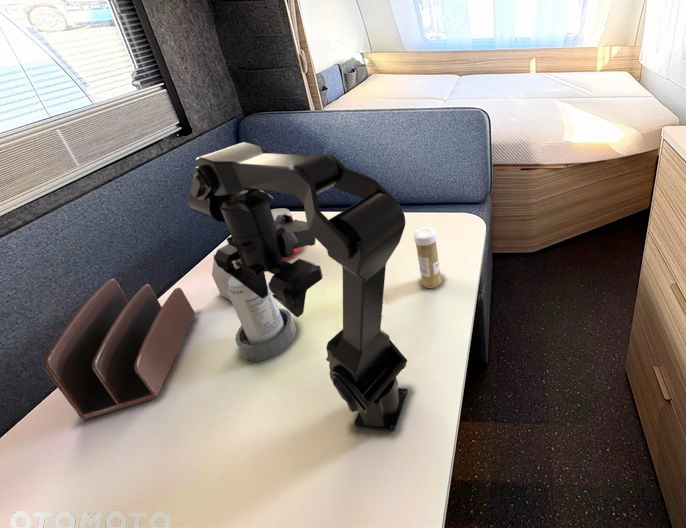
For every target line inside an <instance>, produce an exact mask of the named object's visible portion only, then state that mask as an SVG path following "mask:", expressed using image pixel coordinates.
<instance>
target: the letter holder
mask: <svg viewBox="0 0 686 528" xmlns="http://www.w3.org/2000/svg"><path fill="white" fill-rule="evenodd" d="M195 315H196V312H195V310H194V309H193V307H192V305H191V303H190V301H189V300H188V298H187V296H186V294H185V292H184V290H183V289H182V288H181V287H176V288H174V289H173V291H172V292H171V294H169V296H168V297H167V299H166V300H165V302H164V303H163V304H162V305H161V302H159V299H158V297H157V296H156V294H155V292H154V290H153V288H152V286H151V284H148V283H146V284H144V285H142V286H141V287H140V288H139V289H138V290H137V291H136V293H135V294H134V295H133V296H132V297H131V298H130V300H129V301H128V300H127V298H126V296H125V294H124V292H123V290H122V288H121V286H120V285H119V283H118V281H117V279H115V278H110V279H108V280H106V281H105V282H104V283H103V284H102V285H101V286H99V287H98V288H97V290H95V291H94V292H93V293H92V294H91V295H90V296H89V298H88V299H86V301H85V302H84V303H83V304H82V305H81V307H80V308H79V309H78V310H77V312H76V313H75V314H74V315H73V317H72V318H71V320H70V321H69V322H68V323H67V325H66V326H65V327H64V329H63V330H62V332H61V333H60V334H59V336H58V337H57V339H56V340H55V341H54V343H53V345H52V346H51V348H50V349H49V351H48V352H47V354H46V356H45V358H44V359H43V369H44V371H45V372H46V374H47V375H48V376H49V378H50V379H51V380H52V382H53V383H54V384H55V386H56V387H57V388H58V390H59V391H60V392H61V393H62V395H63V396H64V398H65V399H66V400H67V402H68V403H69V404H70V406H71V407H72V409H74V412H76V413H77V415H78V417H79V418H80V419H81V420H83V421H87V420H89V419H91V418H95V417H98V416H101V415H104V414H108V413H111V412H115V411H118V410H121V409H125V408H128V407H132V406H135V405H137V404H141V403H144V402H147V401H151V400H152V401H153V400H155V399H157V398H158V396H159V393H160V391H161V390H162V387H163V385H164V383H165V381H166V379H167V377H168V374H169V372H170V370H171V368H172V366H173V363H174V361H175V359H176V356H177V355H178V353H179V350H180V348H181V346H182V344H183V341H184V340H185V337H186V335H187V333H188V331H189V328H190V326H191V324H192V322H193V320H194V317H195Z"/></svg>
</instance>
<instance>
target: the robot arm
mask: <svg viewBox="0 0 686 528" xmlns="http://www.w3.org/2000/svg"><path fill="white" fill-rule="evenodd" d="M195 164H196V165H197V166H195V167H193V171H192V175H193V176H192V184H191V187H190V190H189V194H188V200H187V204H188V206H189V207H190V208H191V209H192V211H194V212H196V213H198V214H200V215H203V216H205V217H208V218H210V219H212V220H215V221H216V222H220V223H225V224H226V227H227V229H228V232H229V234H230V236H229V237H227V238H226V241H227V244H226V245H224V246H222V247H219V248H218V249H217V250H216V252H215V254H214V255H215V256H214V255H213V260H214V259H215V261H216V263H217V266H218V267H220V268H222V269H224V271H225V272H226V273H228V274H229V275H230V276H232V277H233V278H235V279H236V280H237V281H239V282H240V283H241V284H243V285H244V286H246V287H247V288H248V289H250V290H251V291H252V292H254V293H255V294H256V295H258V296H259V297H260V298H262V299H263V298H265V297H266V296H268V288H267V283H266V278H265V275H266V274H265V273H266V272H268V273H270V274H272V276H271V278H270V280H269V281H268V282H269V284H268V285H269V288H270V290H271V292H272V293H273V295H272V296H273V297H274V298H275V301H276V302H278V303H279V304H280V305H282V307H284V308H285V310H287V311H288V312H289V313H290V314H291V315H293V316H294V317H295V318H299V317H301V316H302V315H303V314H304V312H305V311H304V310H305V303H306V296H307V291H308V290H309V289H311V288H312V287H313V286H315V285H316V284H317V283H319V282H320V281H321V280H323V277H324V276H323V275H324V274H323V271H322V268H321V265H318V264H316V263H315V262H312V261H309V260H307V259H303V258H298V259H296V260H295V261H292V262H289V261H287V260H284V258H285V257H288V258H289V257H290V256H292V255H293V254H295V252H294V249H297V248H300V249H301V248H304V247H308V246H309V247H312V246H315V245H316V240H317V241H318V242H319V243H320V245H321V246H322V247H324V249H325V250H326V252H327V256H328V257H329V258H330V259H332V260H333V261H334V262H336V263H338V265H341V268H342V328H341V329H340V331H339V332H337V334H335V335H334V336H333V337H332V338H331V339H330V340H329V341H328V342H327V344H326V347H325V348H326V354H327V357H326V358H325V360H326V361H327V362H328V366H329V378H330V380H331V382H332V385H333V387H334V388H335V389H336V391H337V393H338V395H339V396H340V398H341V399H342V400H343V401H345V402H346V404H347V408H348V410H349V412H351V413H355V412H358V414H357V416H356V418H355V420H354V423H353V425H354V427H355V428H356V429H364V430H374V431H385V432H395V430H397V427H398V424H399V421H400V418H401V415H402V412H403V410H404V407H405V403H406V401H407V397H408V394H409V390H408V388H406V387H404V388H403V387H399V383H398V379H397V377H398V376H399V374H400V373H401V372H402V371H403V370H404V369H405V368H406V367H407V364H408V359H407V357H406V356H405V355H404V354H403V353H402V352H401V351H400V350H399V349H398V347H397V346H396V344H394V343H393V341H392V340H391V337H390V335H389V334H388V333H387V332H385V331H384V330H382V329H381V328H382V315H383V304H384V290H385V282H386V281H385V280H386V279H385V278H386V268H387V263H388V261H389V259H390V258H391V256H392V255H393V254H394V252H395V250H396V249H397V247H398V246H399V244H400V242H401V239H402V238H403V237H402V236H403V233H404V231H405V228H406V216H405V212H404V211H403V208H402V206H401V205H400V203H399V202H398V201H397V200H396V198H394V196H392V195H391V194H390V193H389V192H388V191H387V190H386V189H385V188H384V187H383V186H382V185H381V184H380V183H379V182H378V181H377V180H376V179H374V178H373V177H370V176H368V175H365V174H363V173H360V172H357V171H355V170H353V169H350V168H347V167H346V166H345V165H344V164H343V163H342V162H341V161H340V160H339V159H338V158H337V157H336V156H334V155H333V154H331V153H319V154H316V155H315V154H295V153H294V154H291V153H270V152H269V153H268V152H267V153H265V152H263V150H262V147H261V146H259V145H256V144H252V143H250V142H245V141H244V142H239V143H237V144H234V145H231V146H227V147H225V148H222V149H220V150H216V151H214V152H209V153H207V154H204V155H201V156H198V157H197V158H196V159H195ZM332 187H334V188H336V189H337V190H340V191H342V192H345V193H347V194H350V195H353V196H356V197H357V198H358V197H359V198H360V199H361V200H359V201H358V202H356V203H354V204H352V205H350V206H349V207H348V208H346V209H343V210H342V211H341V212H339V213H337V214H336V215H334V216H332V217H331V218H329V219H328V218H327V216H325V215H324V214H323V212H322V211H321V207H320V204H319V197H318V195H319V194H320V193H322V192H324V191H326V190H328V189H331V188H332ZM265 191H266V192H265ZM268 192H273V193H282V194H290V195H294V196H295V197H296V198H297V199H298V200H299V201H300V202H301V204H303V208H304V214H305V221H304V220H299V219H293V216H292V217H291V216H289V215H286V214H282V215H277V217H276V219H275V221H274V218H273V215H272V212H271V210H272V209H271V207H270V204H271V203H272V202H274V198H273V196H271V195H270V194H269V193H268ZM289 259H290V258H289Z"/></svg>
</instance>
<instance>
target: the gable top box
mask: <svg viewBox="0 0 686 528" xmlns="http://www.w3.org/2000/svg"><path fill="white" fill-rule="evenodd" d="M214 256H215V254H213V257H214ZM211 277H212V279H213V281H214V283H215V285H216V288H217V291H218V292H219V294H220V296H221V297H223V298H225V299H226V300H229V301H231V300H230V297H229V295H228V287H229V284H228V282H229V279H230V278H231V277H232V276H230V275H229V274H228V273H226V272H225V271H224V269H222V268H220V267H218V266H217V263H216V261H215V259H214V258H213V264H212V269H211Z"/></svg>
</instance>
